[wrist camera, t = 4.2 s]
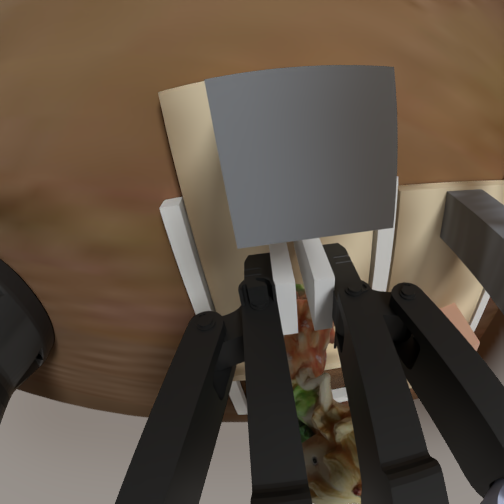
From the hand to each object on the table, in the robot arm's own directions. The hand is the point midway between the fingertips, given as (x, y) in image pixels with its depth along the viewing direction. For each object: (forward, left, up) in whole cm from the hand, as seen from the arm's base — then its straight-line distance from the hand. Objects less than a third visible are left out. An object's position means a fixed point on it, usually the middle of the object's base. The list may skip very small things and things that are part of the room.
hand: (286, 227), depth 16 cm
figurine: (0, -9, -2) cm, 9 cm away
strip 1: (0, -3, -2) cm, 3 cm away
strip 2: (+13, -10, -2) cm, 16 cm away
